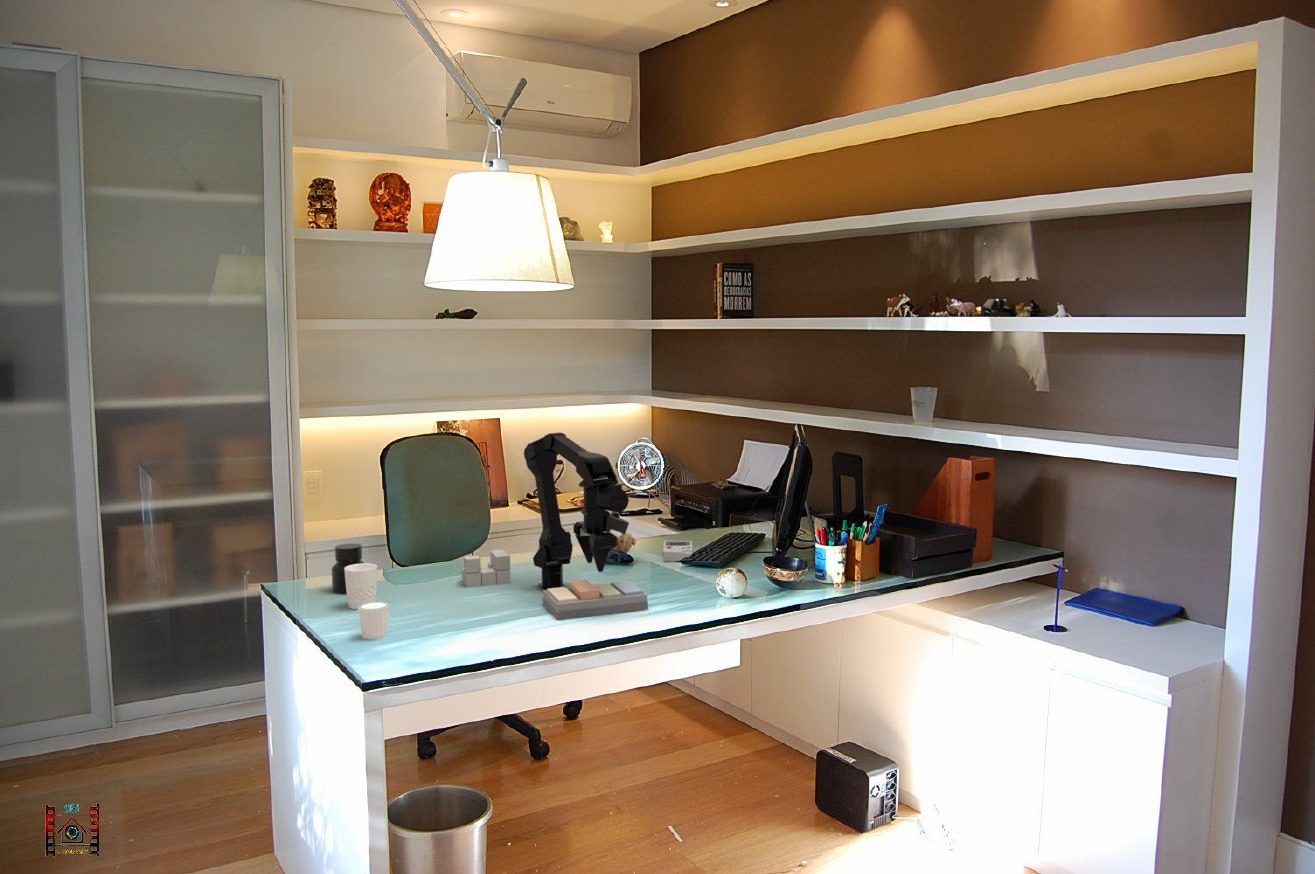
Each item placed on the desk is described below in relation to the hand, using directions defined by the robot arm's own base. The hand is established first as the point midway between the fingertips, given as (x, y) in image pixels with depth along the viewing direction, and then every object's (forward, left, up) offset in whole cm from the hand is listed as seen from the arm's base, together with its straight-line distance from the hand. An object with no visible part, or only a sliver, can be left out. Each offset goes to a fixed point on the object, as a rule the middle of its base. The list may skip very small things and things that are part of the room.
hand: (595, 567), depth 241 cm
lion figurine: (-43, +21, -10) cm, 49 cm away
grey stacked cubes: (-34, -22, -10) cm, 41 cm away
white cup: (-20, -55, -10) cm, 60 cm away
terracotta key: (+4, -4, -6) cm, 8 cm away
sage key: (+4, +2, -7) cm, 8 cm away
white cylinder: (+6, -54, -10) cm, 55 cm away
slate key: (+4, +7, -7) cm, 11 cm away
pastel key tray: (+4, -1, -9) cm, 10 cm away
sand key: (+4, -10, -7) cm, 13 cm away
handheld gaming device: (-40, +39, -10) cm, 56 cm away
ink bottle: (-37, -57, -10) cm, 69 cm away
